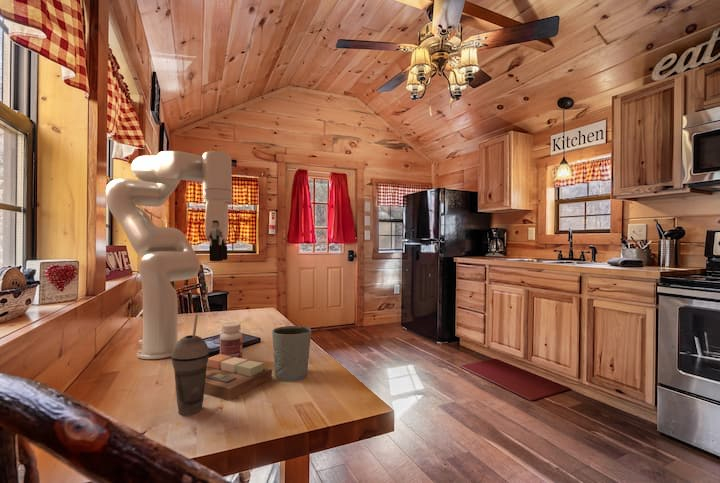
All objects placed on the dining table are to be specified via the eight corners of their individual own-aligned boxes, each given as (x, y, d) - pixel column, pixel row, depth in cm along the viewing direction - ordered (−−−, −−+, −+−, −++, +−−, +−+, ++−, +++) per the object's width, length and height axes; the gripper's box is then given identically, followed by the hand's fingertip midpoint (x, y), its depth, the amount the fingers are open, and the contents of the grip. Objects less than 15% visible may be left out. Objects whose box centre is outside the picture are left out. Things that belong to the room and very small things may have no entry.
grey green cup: (264, 379, 95) (264, 332, 95) (285, 366, 105) (285, 323, 105) (299, 384, 92) (299, 336, 92) (317, 371, 101) (318, 327, 101)
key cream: (220, 369, 95) (220, 361, 95) (234, 364, 99) (234, 357, 99) (233, 372, 93) (233, 364, 93) (247, 367, 97) (247, 359, 97)
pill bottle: (245, 364, 106) (245, 324, 106) (222, 368, 103) (222, 327, 103) (238, 358, 112) (239, 320, 112) (217, 362, 108) (217, 323, 108)
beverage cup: (179, 403, 81) (179, 311, 81) (213, 402, 82) (214, 311, 82) (164, 419, 74) (164, 318, 74) (202, 418, 75) (202, 318, 75)
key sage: (236, 373, 92) (236, 365, 92) (249, 368, 96) (249, 360, 96) (250, 376, 90) (250, 368, 90) (263, 371, 94) (263, 363, 94)
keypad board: (175, 385, 91) (175, 372, 91) (221, 367, 104) (221, 356, 104) (229, 400, 83) (229, 386, 83) (271, 379, 95) (271, 367, 95)
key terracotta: (205, 366, 97) (205, 358, 97) (219, 361, 101) (219, 353, 101) (218, 369, 95) (218, 361, 95) (231, 363, 99) (231, 356, 99)
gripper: (208, 201, 109) (209, 259, 109) (196, 193, 92) (198, 262, 92) (235, 201, 111) (236, 259, 111) (228, 193, 94) (230, 261, 94)
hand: (219, 260), depth 102 cm, fingers open, 9 cm apart
